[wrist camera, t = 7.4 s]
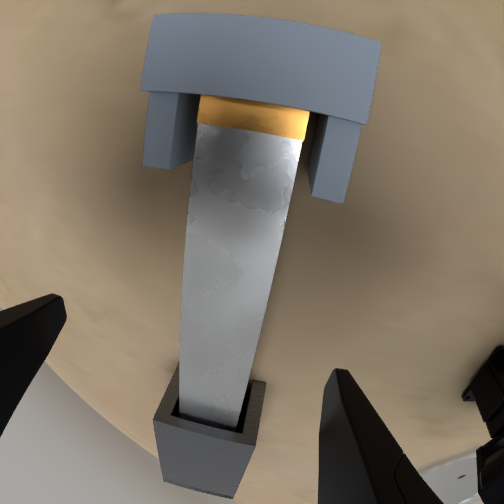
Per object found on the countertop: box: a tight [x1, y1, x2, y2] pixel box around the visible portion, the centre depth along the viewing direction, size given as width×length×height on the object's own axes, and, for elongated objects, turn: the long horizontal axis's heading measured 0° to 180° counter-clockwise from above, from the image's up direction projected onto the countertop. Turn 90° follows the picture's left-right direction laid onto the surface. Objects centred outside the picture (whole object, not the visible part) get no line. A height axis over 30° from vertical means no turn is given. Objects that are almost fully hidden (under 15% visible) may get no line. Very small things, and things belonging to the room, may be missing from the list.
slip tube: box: [179, 95, 310, 432], centre depth 17 cm, size 4×22×4 cm, turn 171°
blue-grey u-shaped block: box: [140, 13, 382, 204], centre depth 12 cm, size 8×6×6 cm
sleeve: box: [153, 362, 266, 499], centre depth 23 cm, size 7×13×6 cm, turn 171°
